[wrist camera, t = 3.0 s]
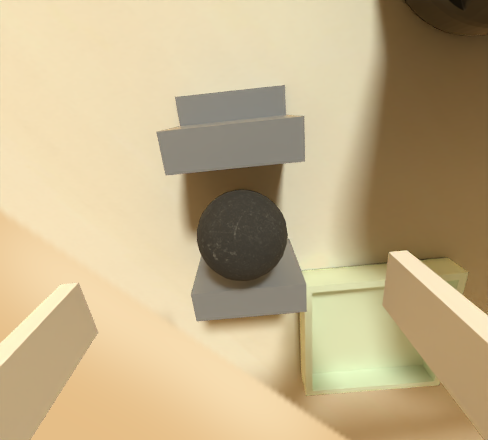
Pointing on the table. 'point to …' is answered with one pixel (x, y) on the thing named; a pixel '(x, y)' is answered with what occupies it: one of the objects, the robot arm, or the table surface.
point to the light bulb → (242, 235)
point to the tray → (360, 331)
